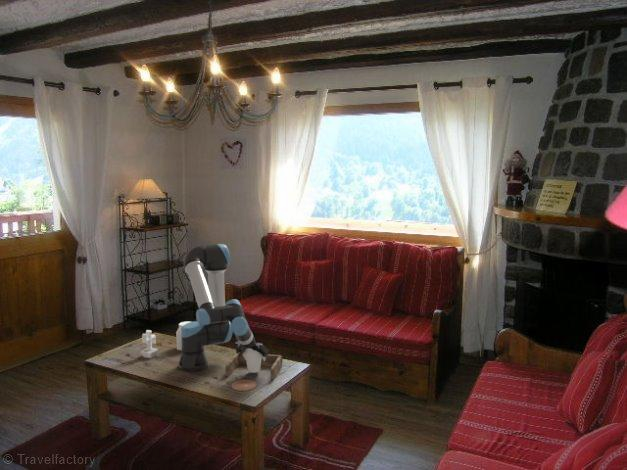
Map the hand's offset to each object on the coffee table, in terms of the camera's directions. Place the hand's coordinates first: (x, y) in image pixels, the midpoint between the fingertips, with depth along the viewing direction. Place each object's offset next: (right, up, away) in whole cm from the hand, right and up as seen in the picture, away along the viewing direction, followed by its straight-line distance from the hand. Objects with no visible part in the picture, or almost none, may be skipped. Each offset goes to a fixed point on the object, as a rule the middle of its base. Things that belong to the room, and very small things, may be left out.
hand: (255, 357), depth 263 cm
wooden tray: (0, -7, +1) cm, 7 cm away
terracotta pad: (-4, -9, -17) cm, 20 cm away
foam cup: (-1, -6, -2) cm, 6 cm away
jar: (-44, -3, +34) cm, 56 cm away
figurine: (-62, -4, +21) cm, 65 cm away
